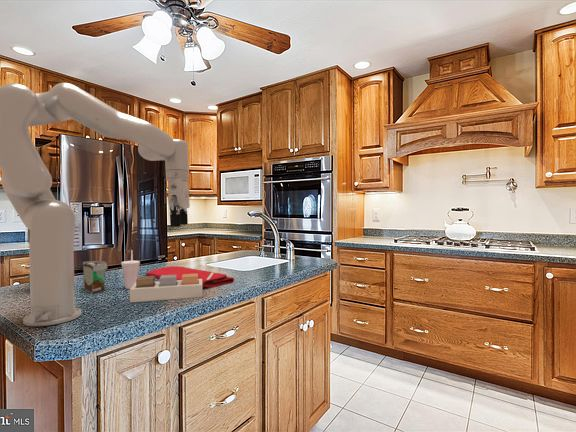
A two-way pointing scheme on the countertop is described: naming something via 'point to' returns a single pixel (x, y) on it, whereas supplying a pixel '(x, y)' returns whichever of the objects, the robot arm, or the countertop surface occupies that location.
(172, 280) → the grey key
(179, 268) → the red folded towel
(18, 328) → the countertop surface
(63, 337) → the countertop surface
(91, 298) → the countertop surface
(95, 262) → the food container
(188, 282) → the orange key
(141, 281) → the walnut key
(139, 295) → the keypad
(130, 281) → the smoothie
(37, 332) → the countertop surface
